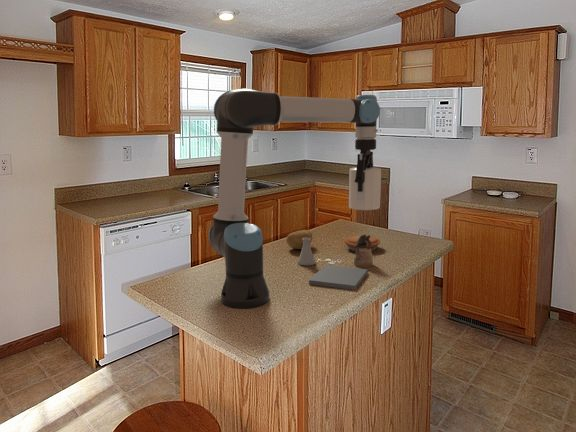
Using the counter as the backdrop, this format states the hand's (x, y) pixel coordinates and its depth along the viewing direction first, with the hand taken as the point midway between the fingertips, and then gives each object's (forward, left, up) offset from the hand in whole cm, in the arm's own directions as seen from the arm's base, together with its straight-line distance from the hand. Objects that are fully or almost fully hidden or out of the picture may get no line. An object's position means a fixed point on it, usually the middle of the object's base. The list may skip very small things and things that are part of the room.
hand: (364, 197), depth 180 cm
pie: (+22, +6, -26) cm, 35 cm away
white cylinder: (0, 0, -4) cm, 4 cm away
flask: (-6, +21, -26) cm, 34 cm away
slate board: (-19, +4, -26) cm, 32 cm away
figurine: (0, 0, -26) cm, 26 cm away
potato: (+13, +31, -26) cm, 43 cm away
